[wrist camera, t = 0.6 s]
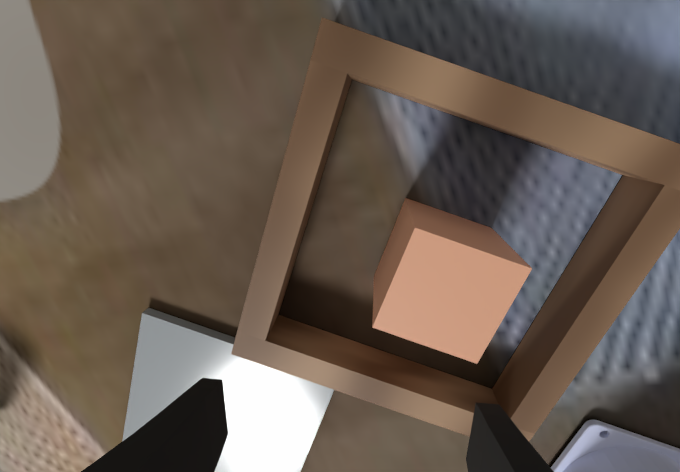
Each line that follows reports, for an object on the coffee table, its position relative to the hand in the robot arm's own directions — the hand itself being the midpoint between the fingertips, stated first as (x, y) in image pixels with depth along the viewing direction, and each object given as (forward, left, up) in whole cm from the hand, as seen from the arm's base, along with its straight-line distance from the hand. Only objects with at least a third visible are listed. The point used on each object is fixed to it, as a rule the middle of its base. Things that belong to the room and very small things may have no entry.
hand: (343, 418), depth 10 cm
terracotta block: (-3, -3, -10) cm, 10 cm away
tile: (+5, +12, -10) cm, 16 cm away
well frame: (-3, -3, -10) cm, 10 cm away
